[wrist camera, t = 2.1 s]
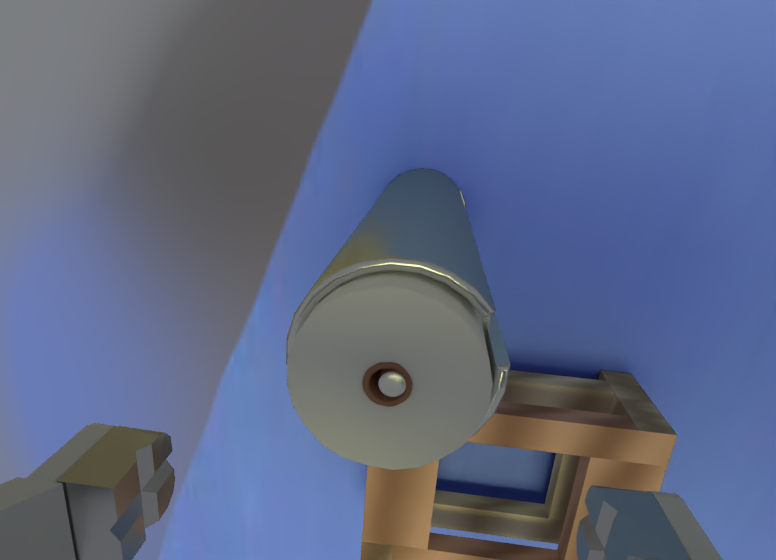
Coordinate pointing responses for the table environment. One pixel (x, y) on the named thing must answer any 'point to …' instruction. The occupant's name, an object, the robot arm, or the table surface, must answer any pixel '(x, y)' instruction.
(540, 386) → the frame
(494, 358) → the silver metal cylinder
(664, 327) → the table surface
